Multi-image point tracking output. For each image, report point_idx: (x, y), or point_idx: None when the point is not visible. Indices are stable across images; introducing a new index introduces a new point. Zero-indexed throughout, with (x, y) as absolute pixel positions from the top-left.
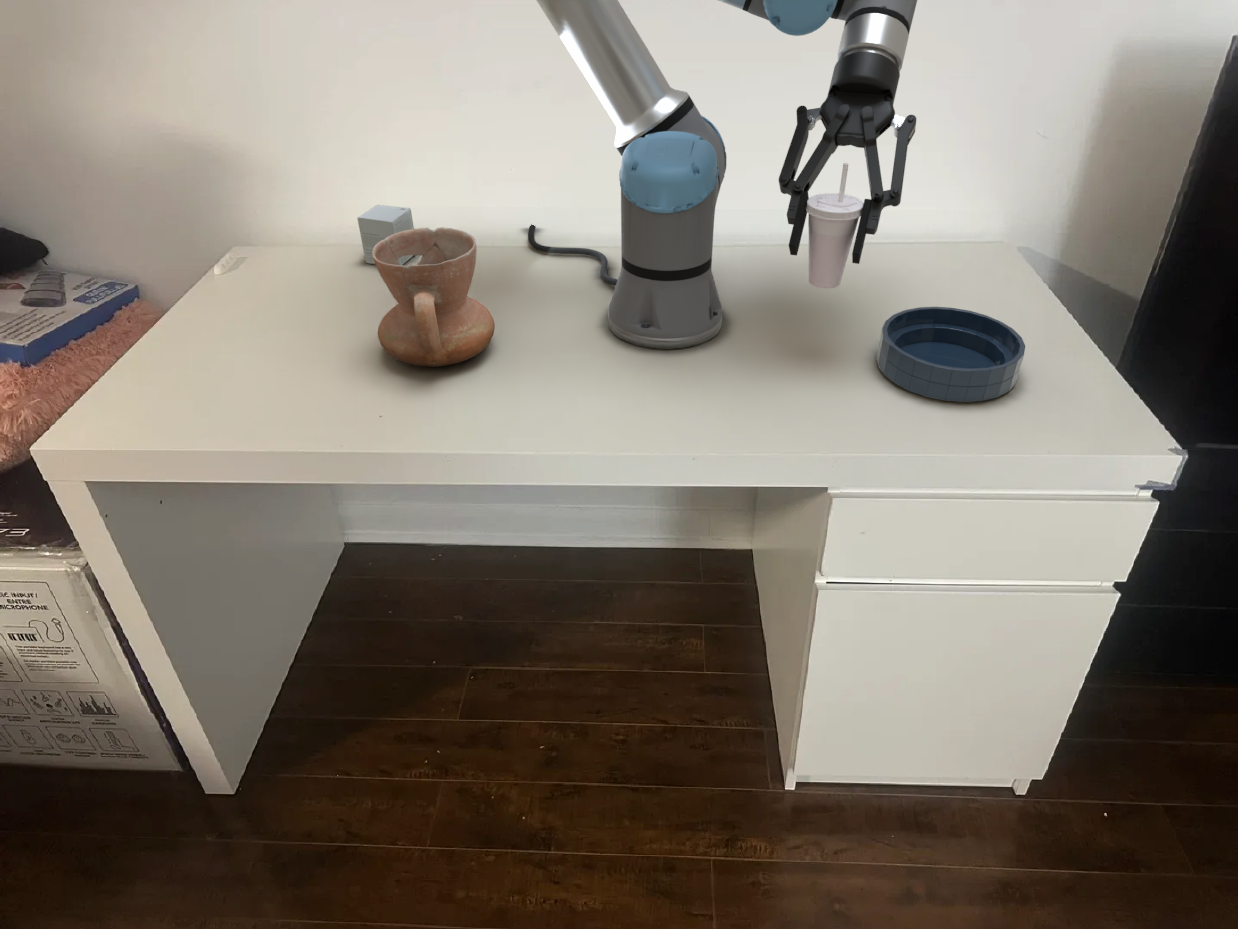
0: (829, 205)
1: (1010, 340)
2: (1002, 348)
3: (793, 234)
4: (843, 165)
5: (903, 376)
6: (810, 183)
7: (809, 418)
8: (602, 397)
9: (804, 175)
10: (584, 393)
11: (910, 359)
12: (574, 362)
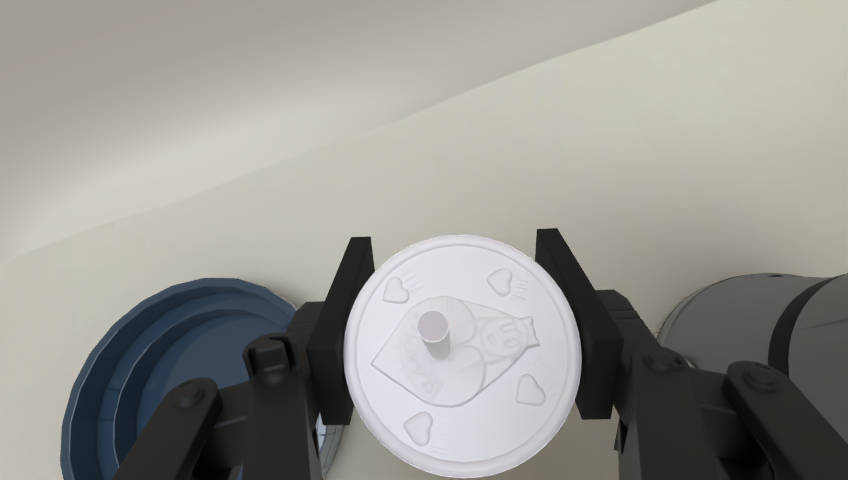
0: (475, 302)
1: (87, 472)
2: (111, 464)
3: (559, 244)
4: (444, 314)
5: (292, 303)
6: (624, 457)
7: (417, 183)
8: (708, 124)
9: (668, 407)
10: (738, 123)
11: (273, 292)
12: (817, 193)
